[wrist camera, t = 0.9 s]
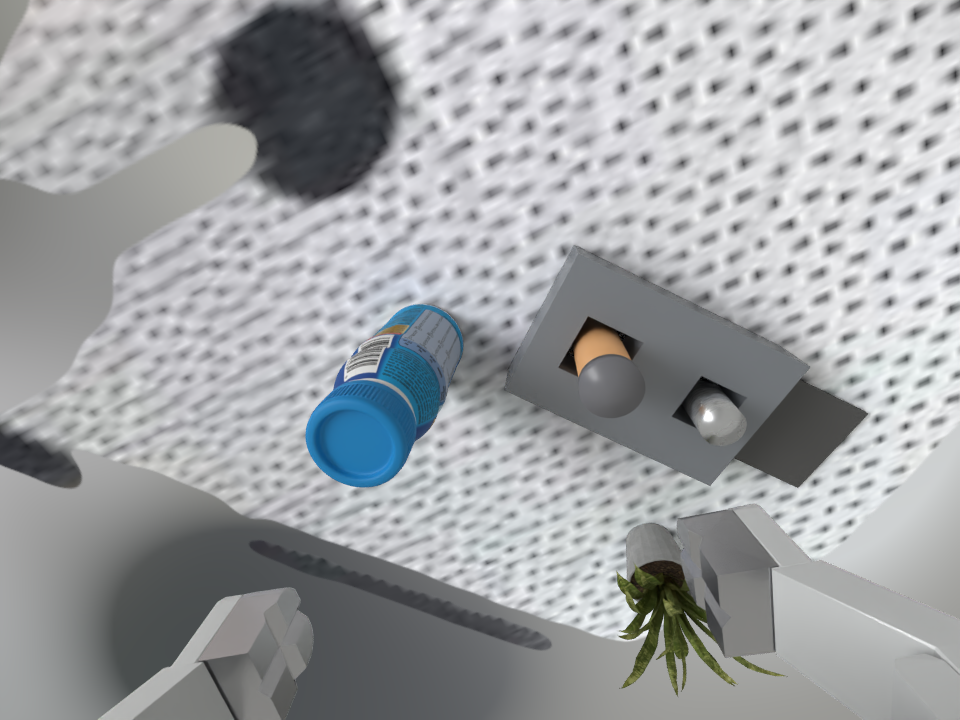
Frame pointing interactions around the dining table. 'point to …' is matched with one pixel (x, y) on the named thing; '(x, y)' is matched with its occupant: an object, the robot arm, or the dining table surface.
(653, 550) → the house plant
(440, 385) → the beverage bottle
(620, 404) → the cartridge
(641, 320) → the housing
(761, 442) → the mat
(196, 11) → the dining table surface
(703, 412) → the plunger
